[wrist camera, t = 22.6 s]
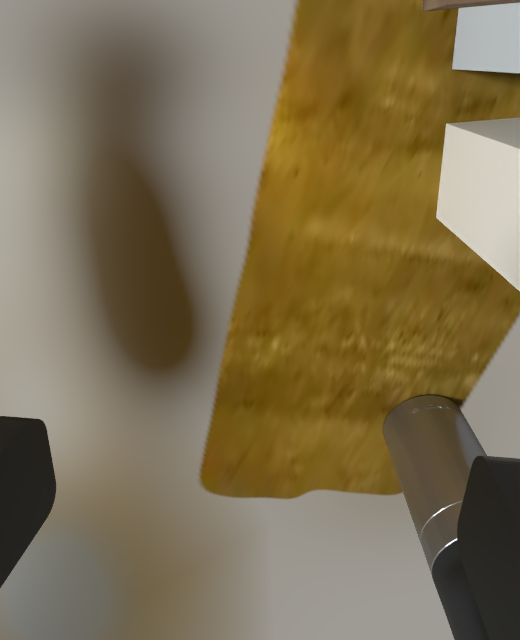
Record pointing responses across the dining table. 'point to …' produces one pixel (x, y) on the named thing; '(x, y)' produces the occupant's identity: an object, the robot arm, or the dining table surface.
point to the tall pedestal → (484, 190)
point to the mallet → (461, 3)
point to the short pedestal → (488, 38)
